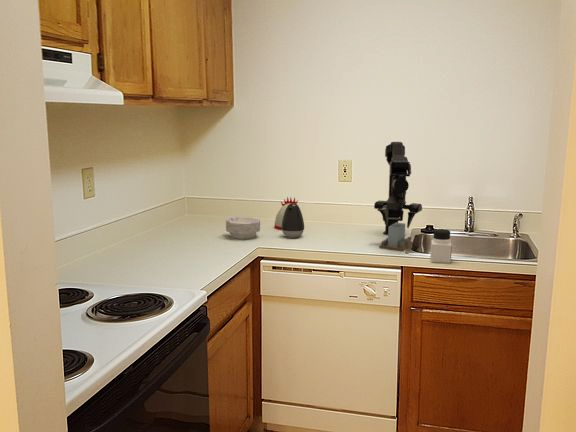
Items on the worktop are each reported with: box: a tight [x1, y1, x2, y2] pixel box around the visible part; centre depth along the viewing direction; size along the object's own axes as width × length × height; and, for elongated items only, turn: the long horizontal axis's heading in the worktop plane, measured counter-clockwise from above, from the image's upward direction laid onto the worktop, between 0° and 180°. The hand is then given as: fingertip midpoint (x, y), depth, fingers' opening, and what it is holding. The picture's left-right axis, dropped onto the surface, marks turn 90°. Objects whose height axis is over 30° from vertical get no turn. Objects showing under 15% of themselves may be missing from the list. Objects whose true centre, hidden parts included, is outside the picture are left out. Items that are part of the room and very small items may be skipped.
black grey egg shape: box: [281, 203, 305, 239], centre depth 261 cm, size 10×10×15 cm
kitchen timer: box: [274, 196, 299, 231], centre depth 281 cm, size 14×14×15 cm
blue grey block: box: [387, 222, 406, 247], centre depth 244 cm, size 10×4×8 cm, turn 152°
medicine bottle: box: [430, 228, 453, 264], centre depth 221 cm, size 7×7×12 cm
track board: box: [378, 236, 414, 252], centre depth 245 cm, size 14×10×3 cm
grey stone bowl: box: [225, 216, 261, 240], centre depth 261 cm, size 15×15×8 cm
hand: (397, 226), depth 244 cm, fingers open, 9 cm apart
